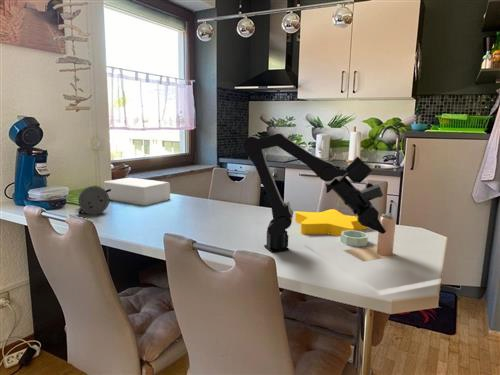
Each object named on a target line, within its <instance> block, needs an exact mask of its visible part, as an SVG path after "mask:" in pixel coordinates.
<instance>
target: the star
mask: <svg viewBox="0 0 500 375" xmlns="http://www.w3.org/2000/svg"><path fill="white" fill-rule="evenodd" d="M294 222H295V223H297V224H299V225H300V234H301V235H319V234H321V235H323V234H324V235H325V234H326V235H327V234H328V235H332V236H335V237H341V233H342V231H348V230H354V231H361V230H368V227H366V226H362V225H361V224H360V223H359V222H358V220H357V215H356V216H354V215H348V214H343V213H342V212H339V211H338V210H337V209H334V208H333V209H331V208H330V209H328V210H324V211H320V212H315V211H314V212H312V211H311V212H310V211H295V216H294Z"/></svg>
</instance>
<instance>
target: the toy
mask: <svg viewBox="0 0 500 375" xmlns="http://www.w3.org/2000/svg"><path fill="white" fill-rule="evenodd" d="M109 191H111V189H108V190H106V191H105V190H104V188H102V187H100V186H95V185H94V186H87V187H86V188H85V189H83V190H82V191H81V192H80V194H79V195H78V199H77V200H78V206H79V208H80V209H79V211H78V212H77V213H78V214H82V213H83V212H84V213H86V214H87V215H99V214H101V213H103V212H104V211H106V210H107V208H108V206H109V205H110V200H109V196H108V194H107V192H109Z"/></svg>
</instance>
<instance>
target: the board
mask: <svg viewBox="0 0 500 375" xmlns="http://www.w3.org/2000/svg"><path fill="white" fill-rule="evenodd" d="M343 252H345V253H347V254H349V255H351V256H352V257H354V258H356V259H358V260H360V261H361V262H367V261H375V260H381V259H385V258H386V259H387V258H393V257H398V256H399V255H398V254H396V253H394V252H393V255H392V256H382V255H379V254H377V245H372V246H371V245H370V246H363V247H357V248H351V249H344V250H343Z"/></svg>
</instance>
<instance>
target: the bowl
mask: <svg viewBox="0 0 500 375" xmlns="http://www.w3.org/2000/svg"><path fill="white" fill-rule="evenodd" d="M339 241H340V242H341V243H342V244H345V245H347V246H351V247H357V248H360V247H367V246H368V243H369V234H368V233H366V232H364V231H361V230H356V231H354V230H348V231H342V233H341V236H340V240H339Z"/></svg>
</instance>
